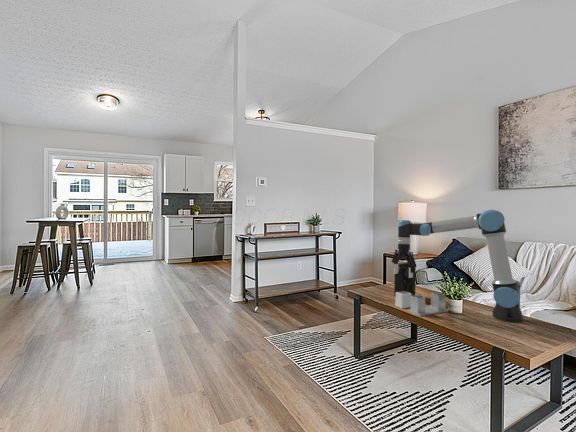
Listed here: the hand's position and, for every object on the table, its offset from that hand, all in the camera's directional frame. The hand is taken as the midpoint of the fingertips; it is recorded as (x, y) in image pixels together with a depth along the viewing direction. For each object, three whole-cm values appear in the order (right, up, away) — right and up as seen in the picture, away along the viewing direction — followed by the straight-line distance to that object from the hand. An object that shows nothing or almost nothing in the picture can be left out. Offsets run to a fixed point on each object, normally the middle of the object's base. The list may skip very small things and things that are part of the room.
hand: (403, 275), depth 212 cm
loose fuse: (+14, -20, +9) cm, 26 cm away
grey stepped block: (+12, -21, -10) cm, 26 cm away
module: (0, -21, 0) cm, 21 cm away
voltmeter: (+10, -20, +24) cm, 33 cm away
